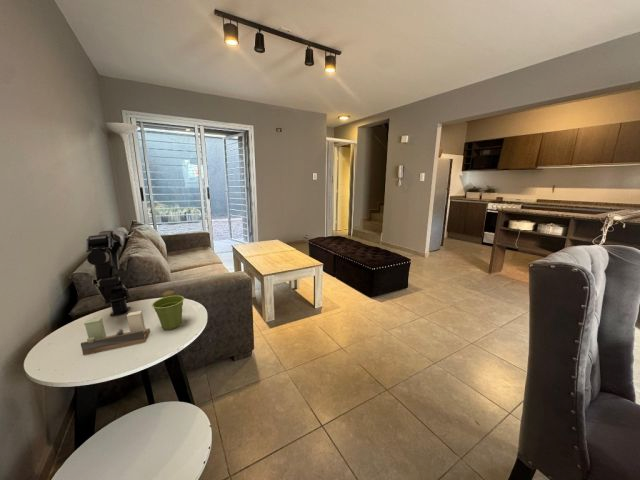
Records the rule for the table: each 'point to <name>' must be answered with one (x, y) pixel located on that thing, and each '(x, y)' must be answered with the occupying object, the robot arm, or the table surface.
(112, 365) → the table surface
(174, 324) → the plant pot
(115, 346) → the brown wooden rack
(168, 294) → the cork
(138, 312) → the beige rectangular block
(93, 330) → the pale green tall block
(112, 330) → the table surface
